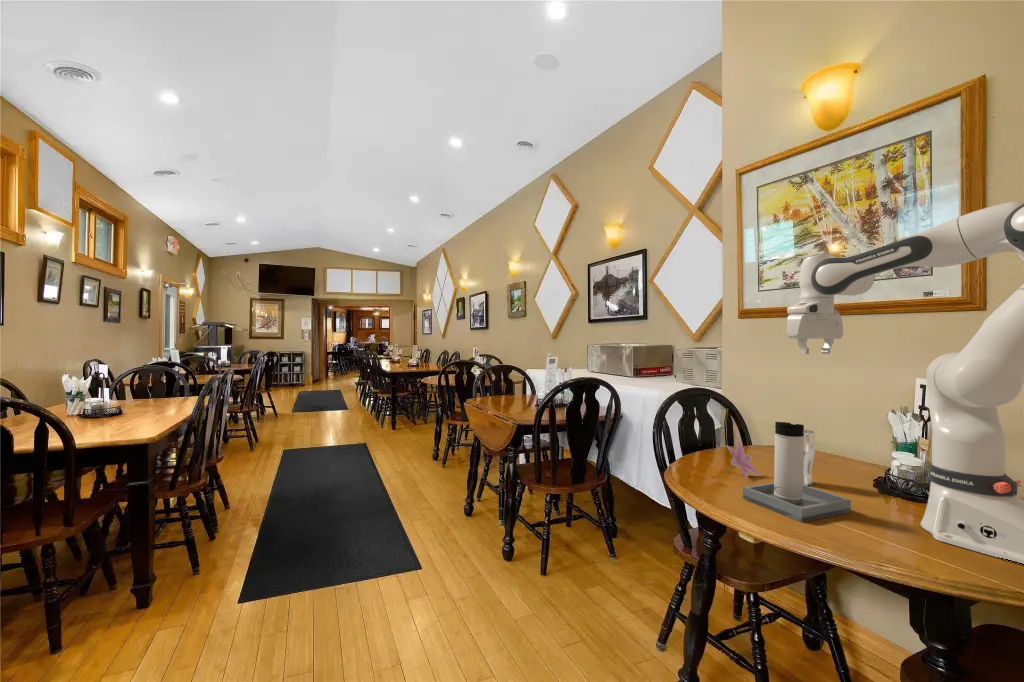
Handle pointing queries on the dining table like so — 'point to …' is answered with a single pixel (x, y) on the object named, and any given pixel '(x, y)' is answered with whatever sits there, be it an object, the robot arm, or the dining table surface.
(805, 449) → the beer glass
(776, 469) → the travel mug
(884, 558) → the dining table surface
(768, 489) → the serving tray
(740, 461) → the lily
